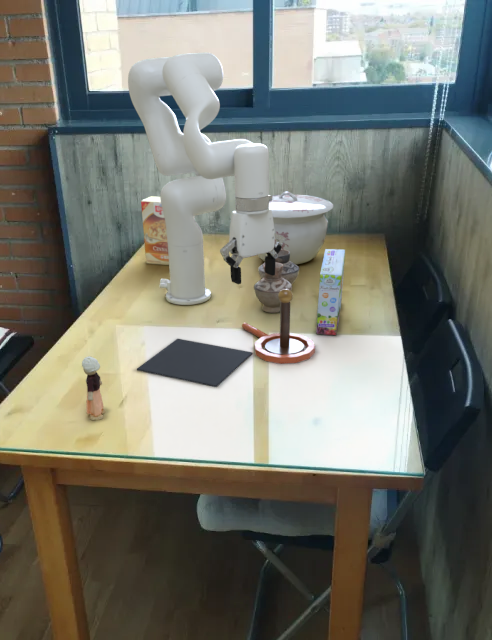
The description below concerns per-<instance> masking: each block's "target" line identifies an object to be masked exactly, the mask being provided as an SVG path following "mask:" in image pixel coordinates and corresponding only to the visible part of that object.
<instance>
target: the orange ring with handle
mask: <svg viewBox="0 0 492 640" xmlns="http://www.w3.org/2000/svg"><path fill="white" fill-rule="evenodd" d="M241 328H242V329H243V330H245V331H246V332H249V333H250V334H252V335H253V336H256V337H257V338H258V339H257V340H256V341H255V342H254V344H253V346H254V347H253V348H254V353H255V357H258V358H259V359H261V360H263V361H265V362H269V363H273V364H280V365H281V364H298V363H301V362H303V361H306V360H309V359H311V357H313V355H314V354H316V345H315V342H314V340H313V339H311V338H309V336H308V337H307V336H305V335H304V334H298V333H292V332H290V339H295V340H298V341H300V342H302V343H303V344H304V347H306V348H304V351H302V352H299V353H296V354H288V355H279V354H274V353H269V352H267V351H266V350H265V345H266V343H267V342H269V341H271V340H274V339H279V338H280V332H278V333H277V332H275V333H270V334H268V333H266V332H264V331H263V330H261V329H259V328H257V327H255V326H253V325H251V324H249V323H247V322H243V323H242V324H241Z"/></svg>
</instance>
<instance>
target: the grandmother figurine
mask: <svg viewBox="0 0 492 640" xmlns="http://www.w3.org/2000/svg"><path fill="white" fill-rule="evenodd" d="M81 367H82V370H83V373H84V374H85V375H87V376H86V379H85V382H86V390H87V391H86V402H85V408H86V409H85V410H86V414H87V415H89V418H88V419H89V420H91V421H98V420H103V419H104V414H105V413H106V409H105V406H104V402H103V396H102V394H101V386H102V385H103V380H102V379H101V376H100V375H99V373H98V371H99V370H100V368H101V364H100V363H99V361H98V359H97V358H95V357H93V356H90V355H89V356H86V357H84V358H83V359H82V361H81Z"/></svg>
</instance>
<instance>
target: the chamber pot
mask: <svg viewBox="0 0 492 640" xmlns="http://www.w3.org/2000/svg"><path fill="white" fill-rule="evenodd" d="M271 195H272V194H271ZM272 197H273V200H272V201H270V202H269V208H271V211H272V216H273V222H274V233H276V234H279V235H281V236H283V237H284V238H285V239H284V242H283V244H282V246H281V247H282V248H281V250H287V251H289V252H290V259H289V261H290V262H292V263H294V264H296V265H297V266H298V265H302V264H304V263H307V262H310V261H312V260H314V258H316V256H317V255H318V254H319V252H320V250H321V249H322V247H323V246H324V244H325V241H326V237H327V233H328V226H329V221H328V218H327V217H326V213H328V212H330V211H332V210H333V208H334V205H335V204H333V203H332V202H331V201H330V200H328V199H326V198H323V197H319V196H315V195H310V194H300V193H299V194H298V193H297V194H296V193H295V194H294V193H293V192H290V191H282V193H280V194H273V195H272ZM275 242H276V239H275ZM265 256H267V254H266V253H264V254H260V255H257V257H258V258H259V259H260V260H262V261H263V262H265Z"/></svg>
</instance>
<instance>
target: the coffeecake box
mask: <svg viewBox="0 0 492 640" xmlns="http://www.w3.org/2000/svg"><path fill="white" fill-rule="evenodd" d="M140 203H141V204H140V206H141V207H140V208H141V218H142V229H143V230H142V231H143V242H144V252H145V254H144V255H145V263H146V264H151V265H164V266H169V255H168V243H167V231H166V223H165V217H164V213H163V209H162V205H161V199H160V196H154V195H150V196H148V197H146V198H144V199H141V200H140ZM194 220H195V221H196V218H195V216H194Z"/></svg>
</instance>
